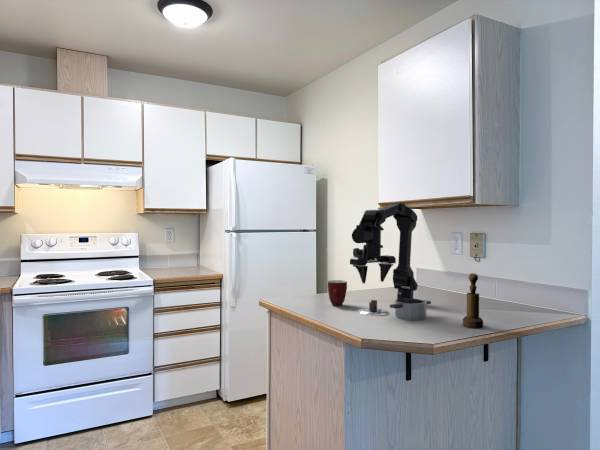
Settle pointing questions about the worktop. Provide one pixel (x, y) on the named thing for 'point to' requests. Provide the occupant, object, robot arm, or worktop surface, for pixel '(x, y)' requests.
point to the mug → (337, 291)
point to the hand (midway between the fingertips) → (373, 282)
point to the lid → (373, 310)
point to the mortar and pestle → (473, 306)
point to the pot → (410, 309)
